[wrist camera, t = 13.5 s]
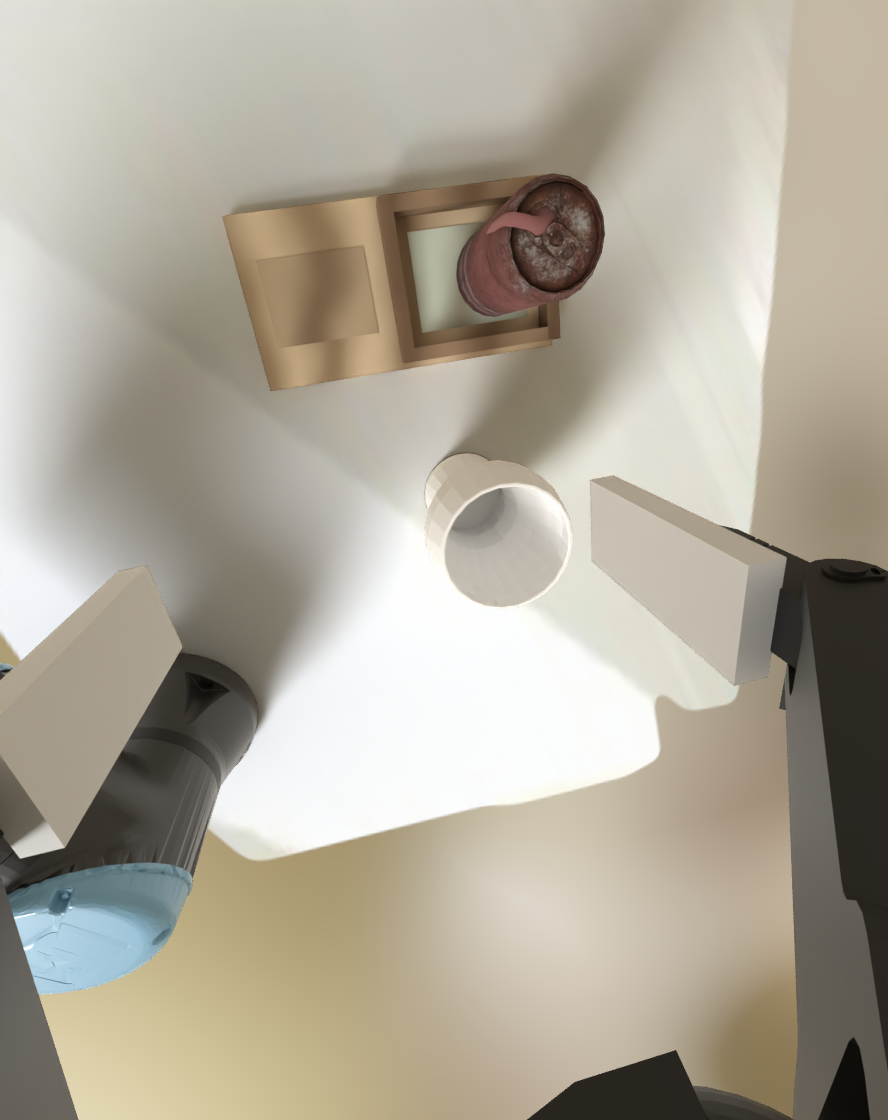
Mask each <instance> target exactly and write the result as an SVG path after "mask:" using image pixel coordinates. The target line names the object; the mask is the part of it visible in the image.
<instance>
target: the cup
mask: <svg viewBox="0 0 888 1120" xmlns="http://www.w3.org/2000/svg"><path fill="white" fill-rule="evenodd" d="M425 500H426V505H427V507H428V510H427V516H426V521H425V526H424V531H425V543H426V547H427V550H428V553H429V555H430V558H431V560H432V563H433V566H434V568H435V571H436V572H437V573H438V574H439V576H440V577H441V578H442V580H443V581H444V582H445V584H447V585H448V586H449V587H450V588H451V589H453V590H454V591H455V592H456V593H458V594H459V595H460V596H462V597H463V598H464V599H466V600H467V601H469V602H470V603H473V604H476V605H478V606H481V607H484V608H491V609H507V608H514V607H519V606H521V605H524V604H526V603H529V602H532V601H534V600H535V599H537V598H538V597H540V596H541V595H543V594H544V593H546V592H547V591H548V590H549V589H550V588H551V587H552V586H553V585H554V584H555V583H556V582H557V581H558V579H559V578H560V576H561V574H562V573H563V571H564V569H565V568H566V566H567V564H568V561H569V557H570V554H571V551H572V540H573V531H572V527H571V523H570V518H569V516H568V513H567V511H566V509H565V507H564V505H563V503H562V501H561V500H560V498H559V496H558V494H557V493H556V491H555V489H554V488H553V487H552V486H551V485H550V484H549V483H548V482H547V481H546V480H545V479H543V478H542V477H541V476H540V475H538V474H537V473H535V472H533V471H532V470H530V469H528V468H526V467H524V466H522V465H520V464H518V463H514V462H508V461H502V460H494V461H488V460H487V459H485V458H483V457H481V456H479V455H475V454H469V453H465V454H457V455H454V456H451V457H449V458H447V459H445V460H444V461H442V462H441V463H440V464H438V465H437V467H436V468H435V469H434V470H433V471H432V473H431V475H430V477H429V479H428V481H427V484H426V490H425Z"/></svg>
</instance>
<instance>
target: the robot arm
mask: <svg viewBox="0 0 888 1120" xmlns="http://www.w3.org/2000/svg"><path fill="white" fill-rule="evenodd" d="M590 511H591V556H592V562H593V563H594V564H596V565H597V566H598V567H599V568H600V569H601V570H602V571H603V572H605V573H606V574H607V575H608V576H609V577H610V578H611V579H613V580H614V581H615V582H616V583H617V584H618V585H619V586H621V587H622V588H623V589H624V590H625V591H626V592H627V593H629V594H630V595H631V596H632V597H633V598H634V599H635V600H637V601H638V602H639V603H640V604H641V605H642V606H643V607H645V608H646V609H647V610H648V611H649V612H650V613H651V614H653V615H654V616H655V617H656V618H657V619H658V620H659V621H660V622H662V623H663V624H664V625H665V626H666V627H667V628H668V629H670V630H671V631H672V632H673V633H674V634H675V635H676V636H678V637H679V638H680V639H681V640H682V641H683V642H684V643H686V644H687V645H688V646H689V647H690V648H691V649H692V650H694V651H695V652H696V653H697V654H698V655H699V656H700V657H702V658H703V659H704V660H705V661H706V662H707V663H708V664H710V665H711V666H712V667H713V668H714V669H715V670H716V671H717V672H719V673H720V674H721V675H722V676H723V677H724V678H725V679H727V680H728V681H729V682H730V683H731V684H732V685H733V686H735V685H739V684H743V683H747V682H751V681H756V680H760V679H764V678H768V673H769V667H770V660H771V654H772V653H774V654H775V655H777V656H778V657H780V658H781V659H782V660H784V661H785V662H787V669H786V674H785V679H784V686H783V691H782V697H781V702H780V709H784V710H786V729H787V754H788V755H787V757H788V783H789V810H790V834H791V835H790V836H791V860H792V861H791V863H792V889H793V912H794V913H793V915H794V942H795V967H796V968H795V969H796V995H797V1019H798V1020H797V1022H798V1051H797V1064H796V1075H795V1086H794V1103H793V1104H794V1105H793V1119H791V1118H790V1117H788V1116H786V1115H784V1114H782V1113H780V1112H778V1111H776V1110H775V1109H773V1108H771V1107H769V1106H766V1105H764V1104H761V1103H758V1102H755V1101H753V1100H751V1099H748V1098H745V1097H743V1096H740V1095H737V1094H733V1093H729V1092H725V1091H721V1090H717V1089H713V1088H708V1087H701V1086H692V1084H691V1082H690V1080H689V1077H688V1075H687V1073H686V1071H685V1069H684V1066H683V1064H682V1062H681V1060H680V1058H679V1056H678V1053H677V1051H676V1050H675V1051H672V1052H669V1053H666V1054H662V1055H659V1056H656V1057H653V1058H650V1059H646V1060H643V1061H640V1062H637V1063H634V1064H631V1065H628V1066H624V1067H622V1068H618V1069H615V1070H612V1071H609V1072H605V1073H602V1074H599V1075H596V1076H593V1077H589V1078H586V1079H583V1080H580V1081H577V1082H574V1083H573V1084H572V1085H570V1087H568V1088H567V1089H565V1090H564V1091H563V1092H562V1093H560V1094H559V1095H558V1096H557V1097H555V1098H554V1099H553V1100H551V1101H550V1102H549V1103H548V1104H546V1105H545V1106H544V1107H543V1108H541V1109H540V1110H539V1111H538V1112H536V1113H535V1114H534V1115H532V1116H531V1117H530V1118H529V1119H527V1120H888V571H886V570H884V569H882V568H880V567H878V566H875V565H872V564H868V563H864V562H861V561H854V560H847V559H823V560H816V561H813V562H811V563H809V562H807V561H805V560H803V559H801V558H799V557H797V556H794V555H792V554H790V553H788V552H785V551H784V550H781V549H779V548H777V547H775V546H773V545H772V546H769V544H768V543H766V542H764V541H762V540H760V539H755V537H753V536H751V535H749V534H747V533H744V532H742V531H740V530H737V529H733V528H729V527H725V526H720V525H717V524H715V523H713V522H711V521H709V520H707V519H704V518H702V517H700V516H698V515H696V514H694V513H692V512H690V511H687V510H685V509H683V508H681V507H679V506H677V505H675V504H673V503H671V502H668V501H666V500H664V499H662V498H660V497H658V496H656V495H654V494H652V493H649V492H647V491H645V490H643V489H641V488H639V487H637V486H635V485H632V484H630V483H628V482H626V481H624V480H622V479H620V478H618V477H616V476H608V477H603V478H598V479H593V480H590ZM182 647H183V646H182V644H181V641H180V639H179V637H178V635H177V632H176V630H175V628H174V625H173V623H172V621H171V619H170V616H169V614H168V612H167V609H166V607H165V605H164V603H163V600H162V598H161V596H160V593H159V591H158V589H157V587H156V584H155V582H154V580H153V577H152V575H151V573H150V571H149V568H148V566H142V567H136V568H131V569H126V570H121V571H118V572H117V573H116V574H115V575H114V576H113V577H112V578H111V579H110V580H108V581H107V582H106V583H105V584H104V585H103V586H102V587H101V588H100V589H99V590H98V591H97V592H95V593H94V594H93V595H92V596H91V597H90V598H89V599H88V600H87V601H86V602H85V603H84V604H82V605H81V606H80V607H79V608H78V609H77V610H76V611H75V612H74V613H73V614H72V615H71V616H69V617H68V618H67V619H66V620H65V621H64V622H63V623H62V624H61V625H60V626H59V627H58V628H56V629H55V630H54V631H53V632H52V633H51V634H50V635H49V636H48V637H47V638H46V639H45V640H43V641H42V642H41V643H40V644H39V645H38V646H37V647H36V648H35V649H34V650H33V651H32V652H30V653H29V654H28V655H27V656H26V657H25V658H24V659H23V660H22V661H21V662H20V663H19V664H17V665H16V666H15V667H13V666H11V665H10V664H2V663H0V1120H78V1117H77V1114H76V1111H75V1108H74V1105H73V1101H72V1098H71V1095H70V1092H69V1089H68V1086H67V1083H66V1079H65V1076H64V1073H63V1070H62V1067H61V1064H60V1061H59V1057H58V1055H57V1051H56V1048H55V1045H54V1042H53V1039H52V1035H51V1032H50V1029H49V1026H48V1023H47V1020H46V1017H45V1014H44V1010H43V1007H42V1004H41V1001H40V998H39V995H38V994H55V993H65V992H70V991H75V990H82V989H87V988H91V987H96V986H99V985H102V984H105V983H108V982H111V981H114V980H116V979H118V978H121V977H123V976H125V975H127V974H129V973H131V972H133V971H134V970H136V969H138V968H139V967H141V966H142V965H144V964H145V963H147V962H148V961H149V960H150V959H152V958H153V957H154V956H155V955H156V954H157V953H158V952H159V951H160V950H161V949H162V948H163V946H164V945H165V944H166V942H167V941H168V939H169V938H170V936H171V934H172V932H173V930H174V928H175V926H176V923H177V920H178V918H179V915H180V913H181V910H182V908H183V905H184V903H185V900H186V898H187V896H188V895H189V893H190V891H191V889H192V882H193V880H192V878H193V875H194V872H195V868H196V865H197V862H198V858H199V854H200V851H201V848H202V845H203V841H204V838H205V835H206V832H207V829H208V825H209V822H210V819H211V815H212V812H213V809H214V806H215V802H216V799H217V795H218V792H219V789H220V786H221V785H222V783H223V782H224V780H225V779H226V778H227V776H228V775H229V773H230V772H231V771H232V769H233V768H234V767H235V766H236V765H237V764H238V763H239V762H240V761H241V759H242V758H243V757H244V756H245V754H246V753H247V751H248V749H249V747H250V745H251V743H252V740H253V737H254V733H255V730H256V726H257V721H258V708H257V703H256V700H255V698H254V695H253V693H252V691H251V690H250V688H249V687H248V685H247V684H246V683H245V682H244V681H243V680H242V679H241V678H240V677H239V676H238V675H237V674H236V673H234V672H233V671H232V670H230V669H229V668H227V667H225V666H223V665H221V664H219V663H217V662H215V661H212V660H210V659H206V658H203V657H199V656H194V655H187V654H179V652H180V651H181V649H182Z"/></svg>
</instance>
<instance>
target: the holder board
mask: <svg viewBox="0 0 888 1120" xmlns="http://www.w3.org/2000/svg"><path fill="white" fill-rule="evenodd" d="M540 176H544V175H536V176H528V177H520V178H512V179H505V180H497V181H489V182H481V183H474V184H466V185H458V186H450V187H443V188H435V189H427V190H419V191H412V192H404V193H396V194H388V195H381V196H373V197H365V198H357V199H350V200H342V201H334V202H326V203H319V204H311V205H303V206H295V207H288V208H280V209H272V210H264V211H257V212H249V213H241V214H233V215H226V216H222V217H223V221H224V224H225V228H226V232H227V235H228V239H229V242H230V246H231V250H232V253H233V257H234V261H235V264H236V268H237V271H238V275H239V279H240V282H241V286H242V289H243V293H244V297H245V300H246V304H247V307H248V311H249V315H250V318H251V322H252V326H253V329H254V333H255V336H256V340H257V344H258V347H259V351H260V354H261V358H262V362H263V365H264V369H265V372H266V376H267V380H268V383H269V387H270V391H274V390H280V389H286V388H292V387H299V386H305V385H311V384H317V383H323V382H329V381H335V380H341V379H347V378H353V377H360V376H366V375H372V374H378V373H384V372H390V371H396V370H402V369H408V368H414V367H421V366H427V365H433V364H439V363H445V362H451V361H457V360H463V359H469V358H475V357H482V356H488V355H494V354H500V353H506V352H512V351H518V350H524V349H530V348H536V347H543V346H549V345H552V341H551V339H557V338H560V318H559V301H555V302H551V303H547V304H544V305H540V306H536V307H532V308H528V309H524V310H520V311H516V312H513V313H509V314H505V315H501V316H497V317H492V316H484V315H482V314H480V313H478V312H475V311H474V310H473V309H472V308H471V307H470V306H469V305H468V304H467V303H466V302H465V301H464V299H463V297H462V295H461V293H460V291H459V288H458V283H457V278H456V271H457V261H458V259H459V256H460V253H461V250H462V248H463V247H464V246H465V244H466V243H467V242H468V240H469V239H470V238H471V237H472V236H473V235H474V234H475V233H476V232H477V231H478V230H479V229H480V228H481V227H482V226H483V225H484V224H485V223H486V222H487V221H488V220H489V219H490V218H491V217H492V216H493V215H494V214H495V213H496V212H497V211H498V210H499V209H500V208H501V207H502V206H503V205H504V204H505V203H506V202H507V201H508V200H509V199H510V198H511V197H512V196H513V195H514V194H515V193H516V192H517V191H518V190H519V189H520V188H521V187H523V186H524V185H525V184H527V183H528V182H530V181H531V180H533V179H534V178H536V177H540Z"/></svg>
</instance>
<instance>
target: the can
mask: <svg viewBox="0 0 888 1120" xmlns="http://www.w3.org/2000/svg"><path fill="white" fill-rule="evenodd" d="M604 236H605V231H604V220H603V214H602V212H601V209H600V206H599V204H598V201H597V199H596V198H595V196H594V195H593V194H592V193H591V191H590V190H589V189H588V187H587V186H585V185H583V184H582V183H580V182H578V181H577V180H575V179H574V178H571V177H570V176H565V175H559V174H548V175H544V176H540V177H536V178H534V179H533V180H531V181H530V182H528V183H527V184H525V185H524V186H523V187H521V188H520V189H519V190H518V191H517V192H516V193H515V194H514V195H513V196H512V197H511V198H510V199H509V200H508V201H507V202H506V203H505V204H504V205H503V206H502V207H501V208H500V209H499V210H498V211H497V212H496V213H495V214H494V215H493V216H492V217H491V218H490V219H489V220H488V221H487V222H486V223H485V224H484V225H483V226H482V227H481V228H480V229H479V230H478V231H477V232H476V233H475V234H474V235H473V236H472V237H471V238H470V239H469V240H468V242H467V243H466V244H465V246H464V247H463V248H462V250H461V253H460V256H459V259H458V261H457V271H456V278H457V283H458V288H459V291H460V293H461V295H462V297H463V299H464V301H465V302H466V303H467V304H468V305H469V306H470V307H471V308H472V309H473V310H474V311H475V312H478V313H480V314H482V315H484V316H492V317H497V316H501V315H505V314H509V313H513V312H516V311H520V310H524V309H528V308H532V307H536V306H540V305H544V304H547V303H551V302H555V301H559V300H563V299H566V298H568V297H569V296H571V295H572V294H574V293H575V292H577V291H578V290H580V289H581V288H582V287H583V286H584V284H585V283H586V282H587V281H588V279H589V278H590V277H591V276H592V274H593V272H594V270H595V267H596V265H597V263H598V261H599V258H600V255H601V253H602V248H603V242H604Z"/></svg>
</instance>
